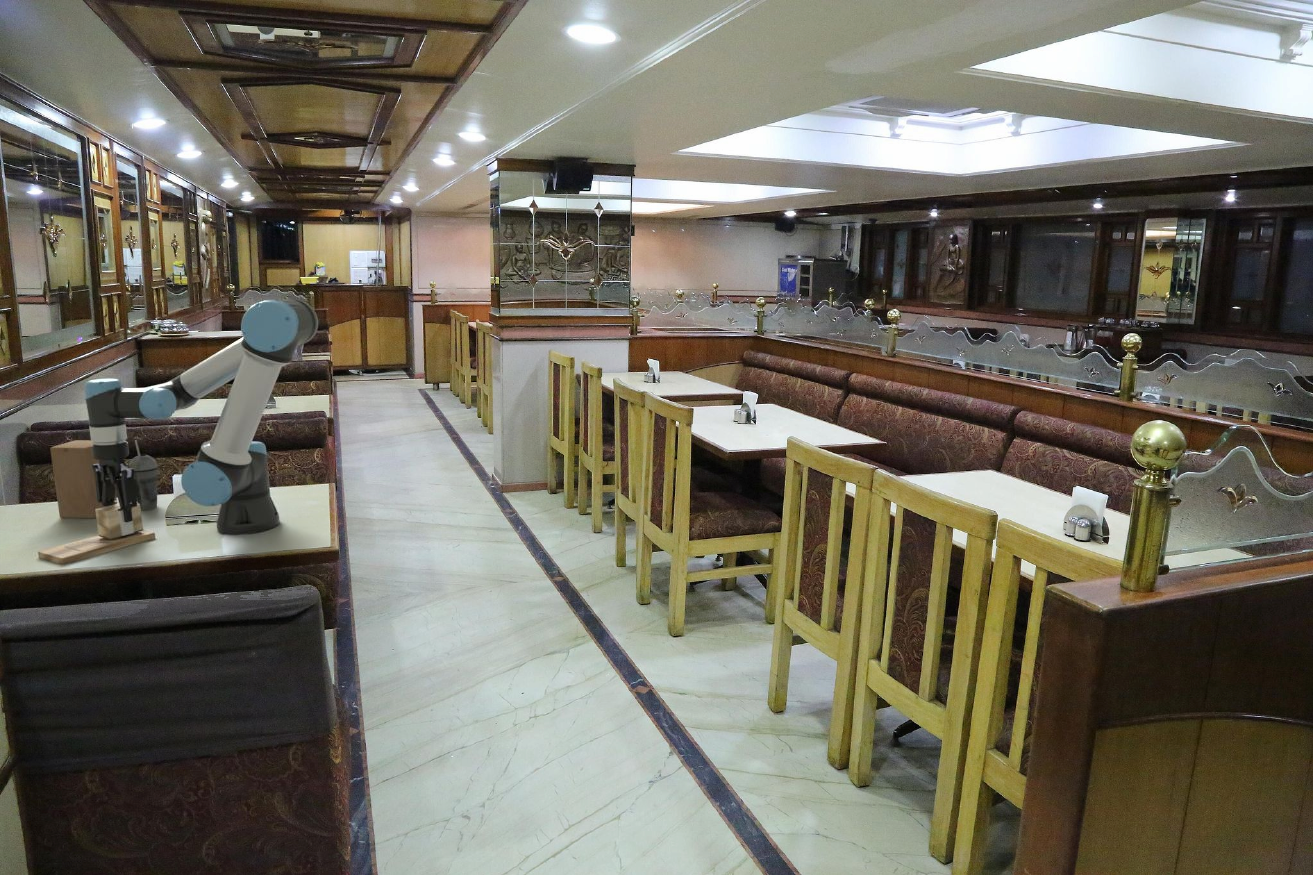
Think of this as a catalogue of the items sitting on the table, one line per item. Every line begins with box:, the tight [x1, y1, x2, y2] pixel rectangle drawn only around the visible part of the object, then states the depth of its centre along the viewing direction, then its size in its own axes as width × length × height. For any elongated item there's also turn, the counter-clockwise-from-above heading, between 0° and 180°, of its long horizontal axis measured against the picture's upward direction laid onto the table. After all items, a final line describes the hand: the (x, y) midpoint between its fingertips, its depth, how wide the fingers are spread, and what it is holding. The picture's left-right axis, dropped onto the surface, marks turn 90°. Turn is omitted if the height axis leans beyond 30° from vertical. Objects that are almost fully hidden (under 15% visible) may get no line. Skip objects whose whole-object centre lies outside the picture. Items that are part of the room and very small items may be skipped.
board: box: [37, 529, 156, 565], centre depth 206 cm, size 10×22×2 cm, turn 153°
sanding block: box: [95, 503, 144, 539], centre depth 210 cm, size 5×8×7 cm, turn 153°
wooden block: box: [49, 439, 118, 519], centre depth 232 cm, size 10×10×20 cm
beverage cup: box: [128, 440, 159, 511], centre depth 238 cm, size 7×7×20 cm
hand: (120, 532), depth 211 cm, fingers closed on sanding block, 5 cm apart
